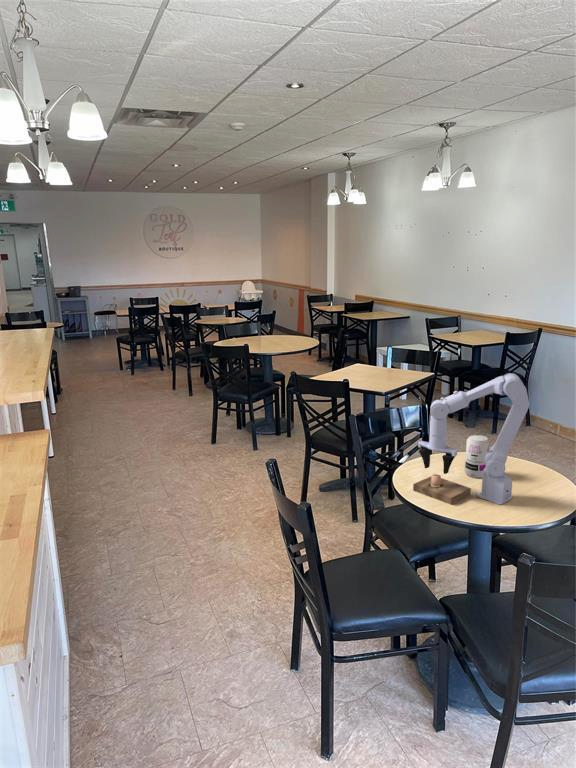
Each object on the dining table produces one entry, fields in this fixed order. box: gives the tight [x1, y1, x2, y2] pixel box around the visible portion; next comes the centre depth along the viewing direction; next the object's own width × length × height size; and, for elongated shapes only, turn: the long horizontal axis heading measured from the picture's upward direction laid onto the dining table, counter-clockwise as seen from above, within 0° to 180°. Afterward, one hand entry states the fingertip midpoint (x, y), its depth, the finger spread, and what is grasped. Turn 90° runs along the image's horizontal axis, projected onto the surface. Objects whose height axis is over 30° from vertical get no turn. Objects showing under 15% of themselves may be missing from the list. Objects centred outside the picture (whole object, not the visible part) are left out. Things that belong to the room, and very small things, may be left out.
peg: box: [431, 473, 442, 488], centre depth 198 cm, size 3×3×6 cm
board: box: [412, 475, 472, 505], centre depth 198 cm, size 16×12×2 cm
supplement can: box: [464, 434, 490, 479], centre depth 212 cm, size 8×8×15 cm
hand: (436, 470), depth 197 cm, fingers open, 7 cm apart
